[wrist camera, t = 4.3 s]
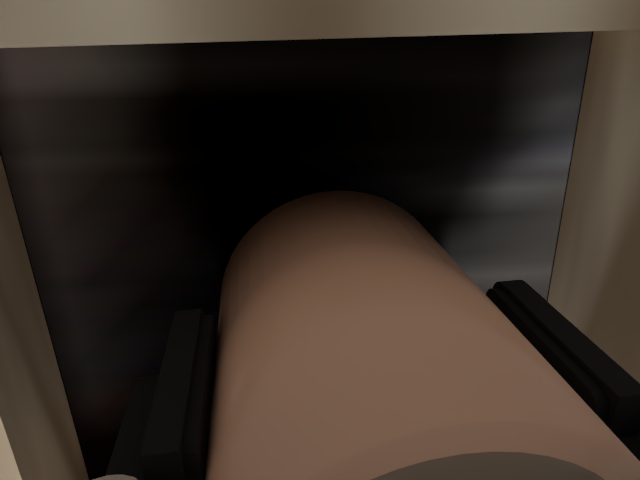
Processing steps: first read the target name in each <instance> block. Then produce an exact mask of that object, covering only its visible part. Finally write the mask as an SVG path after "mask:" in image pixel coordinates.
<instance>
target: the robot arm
mask: <svg viewBox="0 0 640 480" xmlns="http://www.w3.org/2000/svg"><path fill="white" fill-rule="evenodd" d="M486 296H487V297H488V298H489V299H490V300H491V301H492V302H493V303H494V304H495V305H496V306H497V307H498V309H499V310H500V311H501V312H502V313H503V314H504V315H505V316H506V317H507V318H508V319H509V320H510V322H511V323H512V324H513V325H514V326H515V327H516V328H517V329H518V330H519V331H520V332H521V333H522V335H523V336H524V337H525V338H526V339H527V340H528V341H529V342H530V343H531V344H532V345H533V346H534V348H535V349H536V350H537V351H538V352H539V353H540V354H541V355H542V356H543V357H544V358H545V359H546V361H547V362H548V363H549V364H550V365H551V366H552V367H553V368H554V369H555V370H556V371H557V372H558V374H559V375H560V376H561V377H562V378H563V379H564V380H565V381H566V382H567V383H568V384H569V385H570V387H571V388H572V389H573V390H574V391H575V392H576V393H577V394H578V395H579V396H580V397H581V398H582V400H583V401H584V402H585V403H586V404H587V405H588V406H589V407H590V408H591V409H592V410H593V411H594V413H595V414H596V415H597V416H598V417H599V418H600V419H601V420H602V421H603V422H604V423H605V424H606V426H607V427H608V428H609V429H610V430H611V431H612V432H613V433H614V434H615V435H616V436H617V437H618V439H619V440H620V441H621V442H622V443H623V444H624V445H625V446H626V447H627V448H628V449H629V450H630V452H631V453H632V454H633V455H634V456H635V457H636V458H637V459H638V460H639V461H640V383H639V382H637V381H636V380H635V379H634V378H633V377H632V376H631V375H630V374H628V373H627V372H626V371H625V370H624V369H623V368H622V367H621V366H619V365H618V364H617V363H616V362H615V361H614V360H613V359H612V358H610V357H609V356H608V355H607V354H606V353H605V352H604V351H603V350H601V349H600V348H599V347H598V346H597V345H596V344H595V343H594V342H592V341H591V340H590V339H589V338H588V337H587V336H586V335H584V334H583V333H582V332H581V331H580V330H579V329H578V328H577V327H575V326H574V325H573V324H572V323H571V322H570V321H569V320H568V319H566V318H565V317H564V316H563V315H562V314H561V313H560V312H559V311H557V310H556V309H555V308H554V307H553V306H552V305H551V304H550V303H548V302H547V301H546V300H545V299H544V298H543V297H542V296H540V295H539V294H538V293H537V292H536V291H535V290H534V289H533V288H531V287H530V286H529V285H528V284H527V283H526V282H525V281H523V280H513V281H502V282H496V283H495V284H494V286H493V289H489V290H488V291H487V293H486ZM216 346H217V344H216V336H215V328H214V320H213V315H203V310H202V309H194V310H183V311H175V313H174V317H173V321H172V325H171V329H170V333H169V337H168V341H167V345H166V349H165V353H164V358H163V362H162V366H161V370H160V374H159V375H151V376H142V377H138V378H136V380H135V382H134V385H133V388H132V391H131V394H130V397H129V401H128V404H127V407H126V410H125V414H124V417H123V420H122V423H121V426H120V430H119V433H118V436H117V439H116V442H115V446H114V449H113V452H112V455H111V458H110V462H109V465H108V468H107V471H106V474H105V476H103V477H99V478H96V479H92V480H205V475H206V464H207V452H208V440H209V428H210V417H211V405H212V393H213V381H214V370H215V358H216Z"/></svg>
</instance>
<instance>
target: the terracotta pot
mask: <svg viewBox="0 0 640 480" xmlns="http://www.w3.org/2000/svg"><path fill="white" fill-rule="evenodd" d="M216 344H217V346H216V358H215V370H214V381H213V393H212V405H211V417H210V428H209V440H208V452H207V464H206V475H205V480H640V461H639V460H638V459H637V458H636V457H635V456H634V455H633V454H632V453H631V452H630V450H629V449H628V448H627V447H626V446H625V445H624V444H623V443H622V442H621V441H620V440H619V439H618V437H617V436H616V435H615V434H614V433H613V432H612V431H611V430H610V429H609V428H608V427H607V426H606V424H605V423H604V422H603V421H602V420H601V419H600V418H599V417H598V416H597V415H596V414H595V413H594V411H593V410H592V409H591V408H590V407H589V406H588V405H587V404H586V403H585V402H584V401H583V400H582V398H581V397H580V396H579V395H578V394H577V393H576V392H575V391H574V390H573V389H572V388H571V387H570V385H569V384H568V383H567V382H566V381H565V380H564V379H563V378H562V377H561V376H560V375H559V374H558V372H557V371H556V370H555V369H554V368H553V367H552V366H551V365H550V364H549V363H548V362H547V361H546V359H545V358H544V357H543V356H542V355H541V354H540V353H539V352H538V351H537V350H536V349H535V348H534V346H533V345H532V344H531V343H530V342H529V341H528V340H527V339H526V338H525V337H524V336H523V335H522V333H521V332H520V331H519V330H518V329H517V328H516V327H515V326H514V325H513V324H512V323H511V322H510V320H509V319H508V318H507V317H506V316H505V315H504V314H503V313H502V312H501V311H500V310H499V309H498V307H497V306H496V305H495V304H494V303H493V302H492V301H491V300H490V299H489V298H488V297H487V296H486V295H485V293H484V292H483V291H482V290H481V289H480V288H479V287H478V286H477V285H476V284H475V283H474V282H473V280H472V279H471V278H470V277H469V276H468V275H467V274H466V273H465V272H464V271H463V270H462V269H461V267H460V266H459V265H458V264H457V263H456V262H455V261H454V260H453V259H452V258H451V257H450V256H449V254H448V253H447V252H446V251H445V250H444V249H443V248H442V247H441V246H440V245H439V244H438V243H437V241H436V240H435V239H434V238H433V237H432V236H431V235H430V234H429V233H428V232H427V231H426V230H425V228H424V227H423V226H422V225H421V224H420V223H419V222H418V221H417V220H416V219H415V218H414V217H413V216H412V215H410V214H409V213H408V212H407V211H406V210H404V209H403V208H401V207H399V206H398V205H396V204H394V203H393V202H390V201H388V200H386V199H383V198H381V197H378V196H375V195H371V194H367V193H363V192H355V191H327V192H319V193H314V194H310V195H306V196H303V197H300V198H297V199H295V200H292V201H290V202H287V203H285V204H283V205H282V206H280V207H278V208H276V209H274V210H273V211H271V212H270V213H268V214H267V215H266V216H264V217H263V218H262V219H260V220H259V221H258V222H257V223H256V224H255V225H254V226H253V227H252V228H251V229H250V230H249V231H248V232H247V233H246V234H245V236H244V237H243V238H242V239H241V241H240V242H239V243H238V245H237V247H236V248H235V250H234V251H233V253H232V255H231V257H230V259H229V262H228V264H227V266H226V269H225V273H224V277H223V280H222V288H221V297H220V308H219V320H218V332H217V343H216Z"/></svg>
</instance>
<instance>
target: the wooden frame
mask: <svg viewBox="0 0 640 480" xmlns="http://www.w3.org/2000/svg"><path fill="white" fill-rule="evenodd" d="M579 31H594V33H593V38H592V44H591V50H590V56H589V62H588V68H587V74H586V79H585V85H584V91H583V97H582V103H581V109H580V114H579V120H578V126H577V132H576V138H575V144H574V149H573V155H572V161H571V167H570V173H569V179H568V185H567V190H566V196H565V202H564V208H563V214H562V220H561V225H560V231H559V237H558V243H557V249H556V255H555V260H554V266H553V272H552V278H551V284H550V290H549V296H548V301H547V302H548V303H550V304H551V305H552V306H553V307H554V308H555V309H556V310H557V311H559V312H560V313H561V314H562V315H563V316H564V317H565V318H566V319H568V320H569V321H570V322H571V323H572V324H573V325H574V326H575V327H577V328H578V329H579V330H580V331H581V332H582V333H583V334H584V335H586V336H587V337H588V338H589V339H590V340H591V341H592V342H594V343H595V344H596V345H597V346H598V347H599V348H600V349H601V350H603V351H604V352H605V353H606V354H607V355H608V356H609V357H610V358H612V359H613V360H614V361H615V362H616V363H617V364H618V365H619V366H621V367H622V368H623V369H624V370H625V371H626V372H627V373H628V374H630V375H631V376H632V377H633V378H634V379H635V380H636V381H637V382H639V383H640V0H0V48H21V47H56V46H90V45H125V44H160V43H195V42H230V41H265V40H300V39H335V38H370V37H405V36H440V35H474V34H509V33H544V32H579ZM0 480H89V478H88V474H87V471H86V467H85V463H84V460H83V456H82V452H81V449H80V445H79V441H78V438H77V434H76V430H75V427H74V423H73V419H72V416H71V412H70V408H69V405H68V401H67V397H66V393H65V390H64V386H63V382H62V379H61V375H60V371H59V368H58V364H57V360H56V357H55V353H54V349H53V346H52V342H51V338H50V335H49V331H48V327H47V324H46V320H45V316H44V313H43V309H42V305H41V302H40V298H39V294H38V291H37V287H36V283H35V280H34V276H33V272H32V269H31V265H30V261H29V258H28V254H27V250H26V247H25V243H24V239H23V236H22V232H21V228H20V225H19V221H18V217H17V214H16V210H15V206H14V203H13V199H12V195H11V192H10V188H9V184H8V181H7V177H6V173H5V170H4V166H3V162H2V159H1V155H0Z"/></svg>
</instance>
